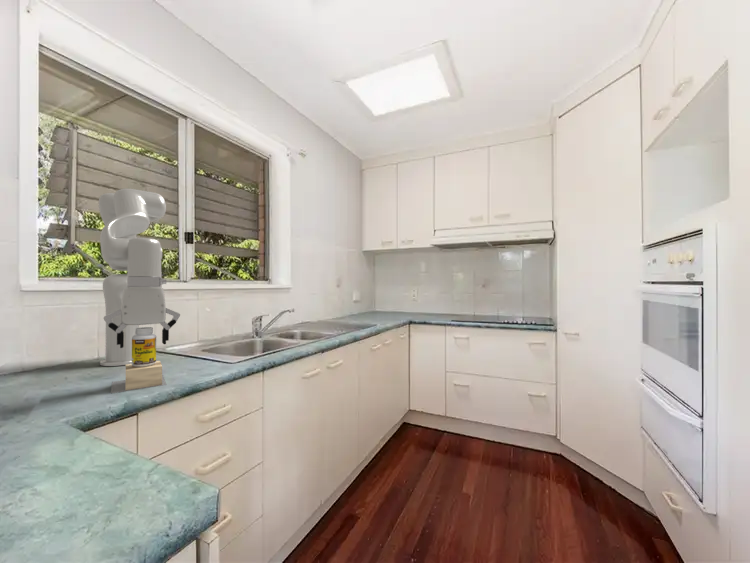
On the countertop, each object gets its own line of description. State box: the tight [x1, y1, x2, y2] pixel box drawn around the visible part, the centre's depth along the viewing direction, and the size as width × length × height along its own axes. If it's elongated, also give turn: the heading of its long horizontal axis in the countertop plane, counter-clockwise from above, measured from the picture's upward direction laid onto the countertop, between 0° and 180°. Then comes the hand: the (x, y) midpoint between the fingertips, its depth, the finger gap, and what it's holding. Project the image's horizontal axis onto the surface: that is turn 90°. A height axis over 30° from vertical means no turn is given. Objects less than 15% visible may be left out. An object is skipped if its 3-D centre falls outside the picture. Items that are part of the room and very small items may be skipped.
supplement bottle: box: [132, 326, 157, 367], centre depth 93 cm, size 6×6×10 cm
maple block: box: [125, 360, 163, 390], centre depth 92 cm, size 8×8×5 cm
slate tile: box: [110, 374, 167, 394], centre depth 93 cm, size 12×12×1 cm
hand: (143, 345), depth 93 cm, fingers open, 9 cm apart
